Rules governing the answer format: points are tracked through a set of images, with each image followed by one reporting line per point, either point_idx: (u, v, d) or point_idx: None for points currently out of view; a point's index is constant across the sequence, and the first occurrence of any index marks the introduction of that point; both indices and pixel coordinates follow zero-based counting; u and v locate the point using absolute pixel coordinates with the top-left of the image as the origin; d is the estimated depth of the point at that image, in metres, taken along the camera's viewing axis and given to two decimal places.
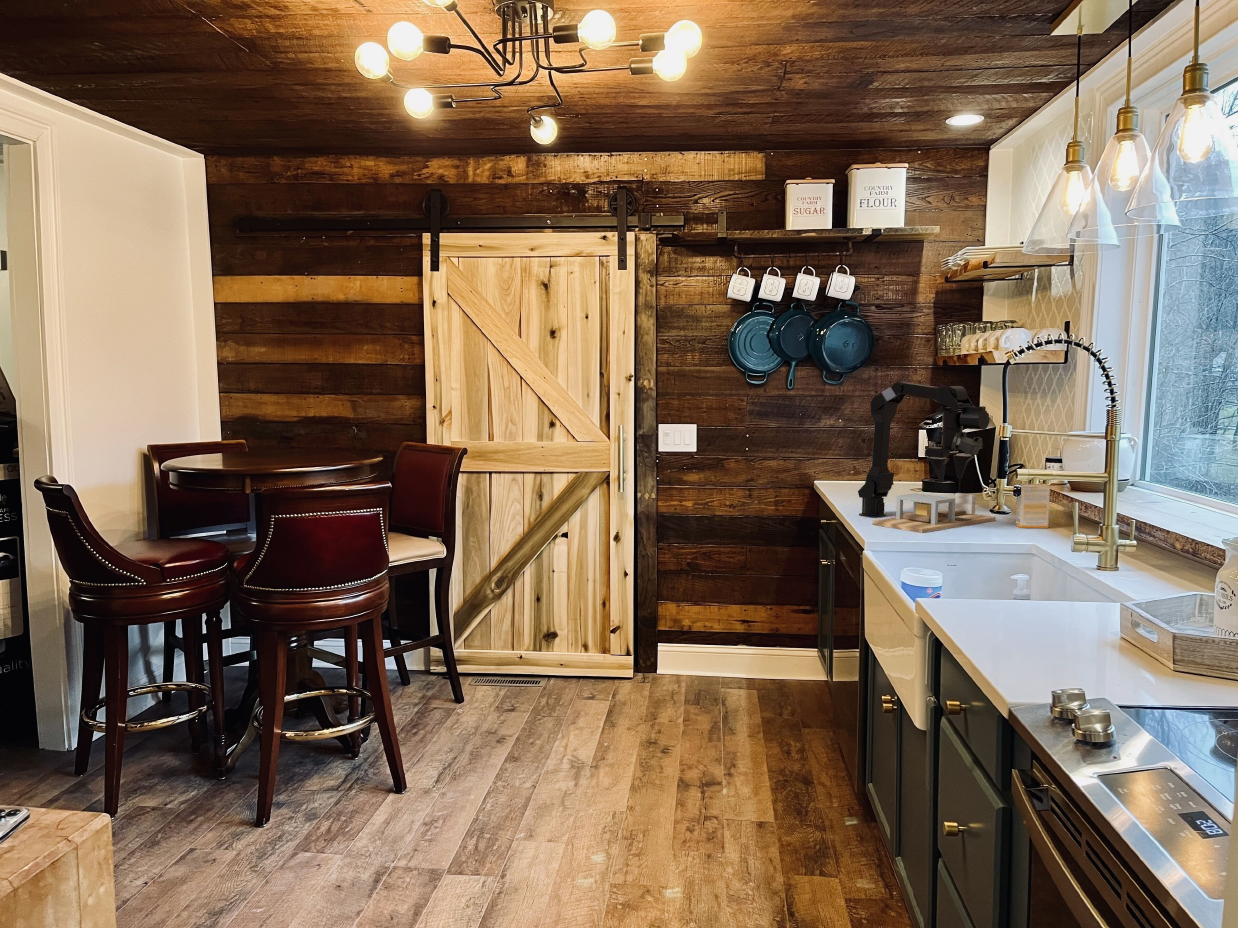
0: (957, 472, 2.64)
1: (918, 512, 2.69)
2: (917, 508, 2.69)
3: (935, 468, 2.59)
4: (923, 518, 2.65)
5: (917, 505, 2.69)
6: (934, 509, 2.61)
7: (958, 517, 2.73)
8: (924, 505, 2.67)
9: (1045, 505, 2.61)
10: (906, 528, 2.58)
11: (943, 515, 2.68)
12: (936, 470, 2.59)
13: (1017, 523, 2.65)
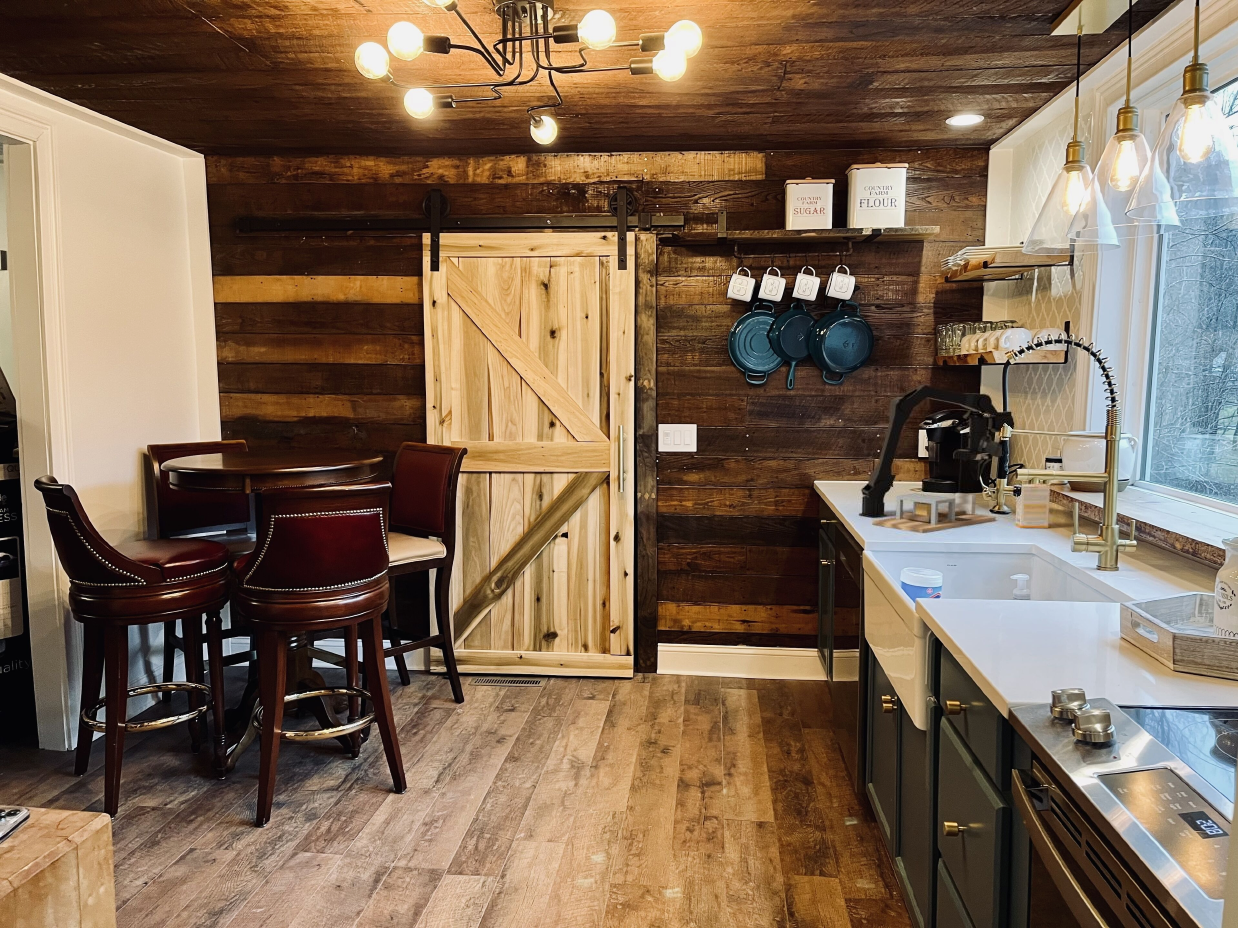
0: None
1: (918, 512, 2.69)
2: (917, 508, 2.69)
3: (970, 468, 2.84)
4: (923, 518, 2.65)
5: (917, 505, 2.69)
6: (934, 509, 2.61)
7: (958, 517, 2.73)
8: (924, 505, 2.67)
9: (1045, 505, 2.61)
10: (906, 528, 2.58)
11: (943, 515, 2.68)
12: (971, 470, 2.83)
13: (1017, 523, 2.65)
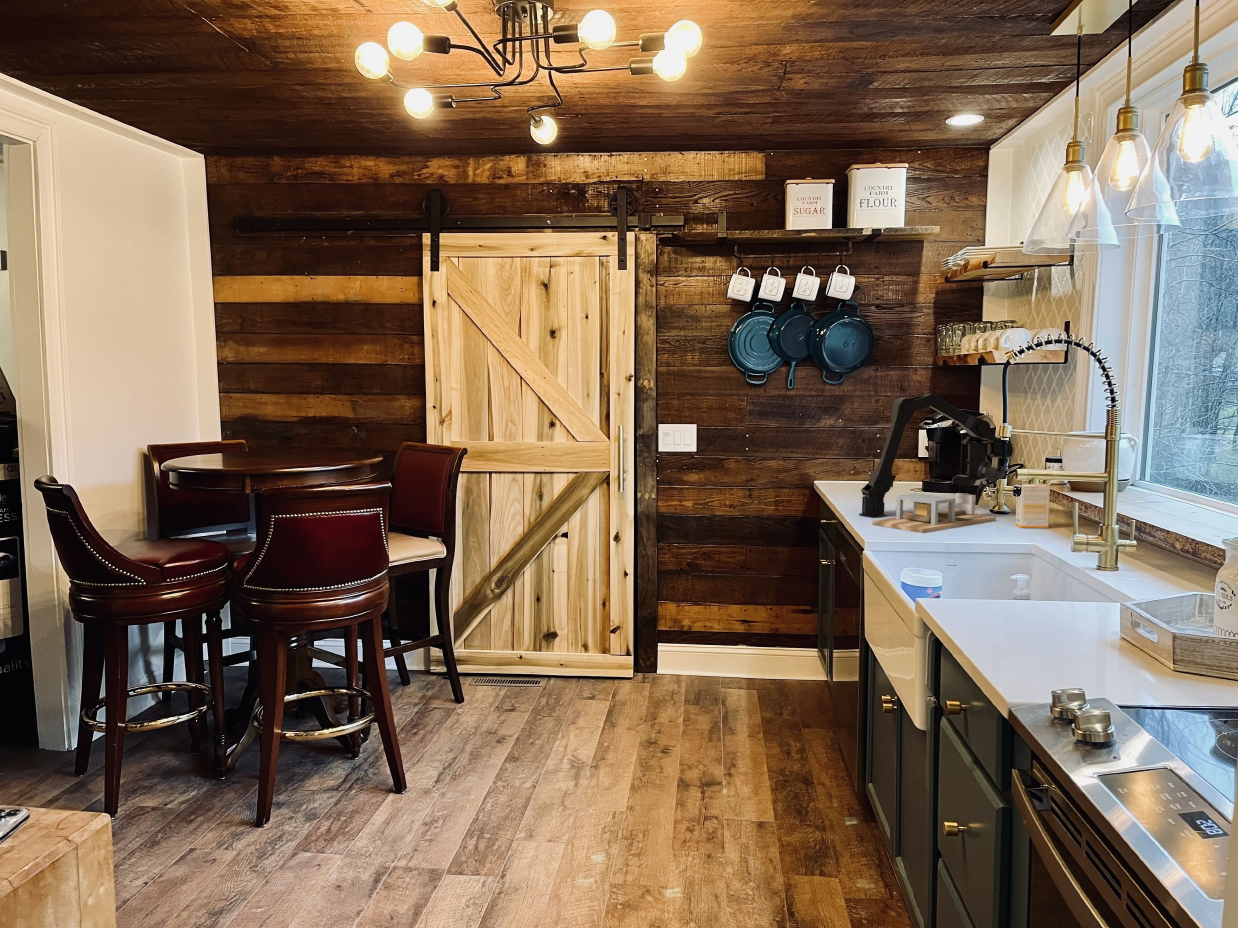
0: None
1: (918, 512, 2.69)
2: (917, 508, 2.69)
3: (969, 493, 2.84)
4: (923, 518, 2.65)
5: (917, 505, 2.69)
6: (934, 509, 2.61)
7: (958, 517, 2.73)
8: (924, 505, 2.67)
9: (1045, 505, 2.61)
10: (906, 528, 2.58)
11: (943, 515, 2.68)
12: None
13: (1017, 523, 2.65)
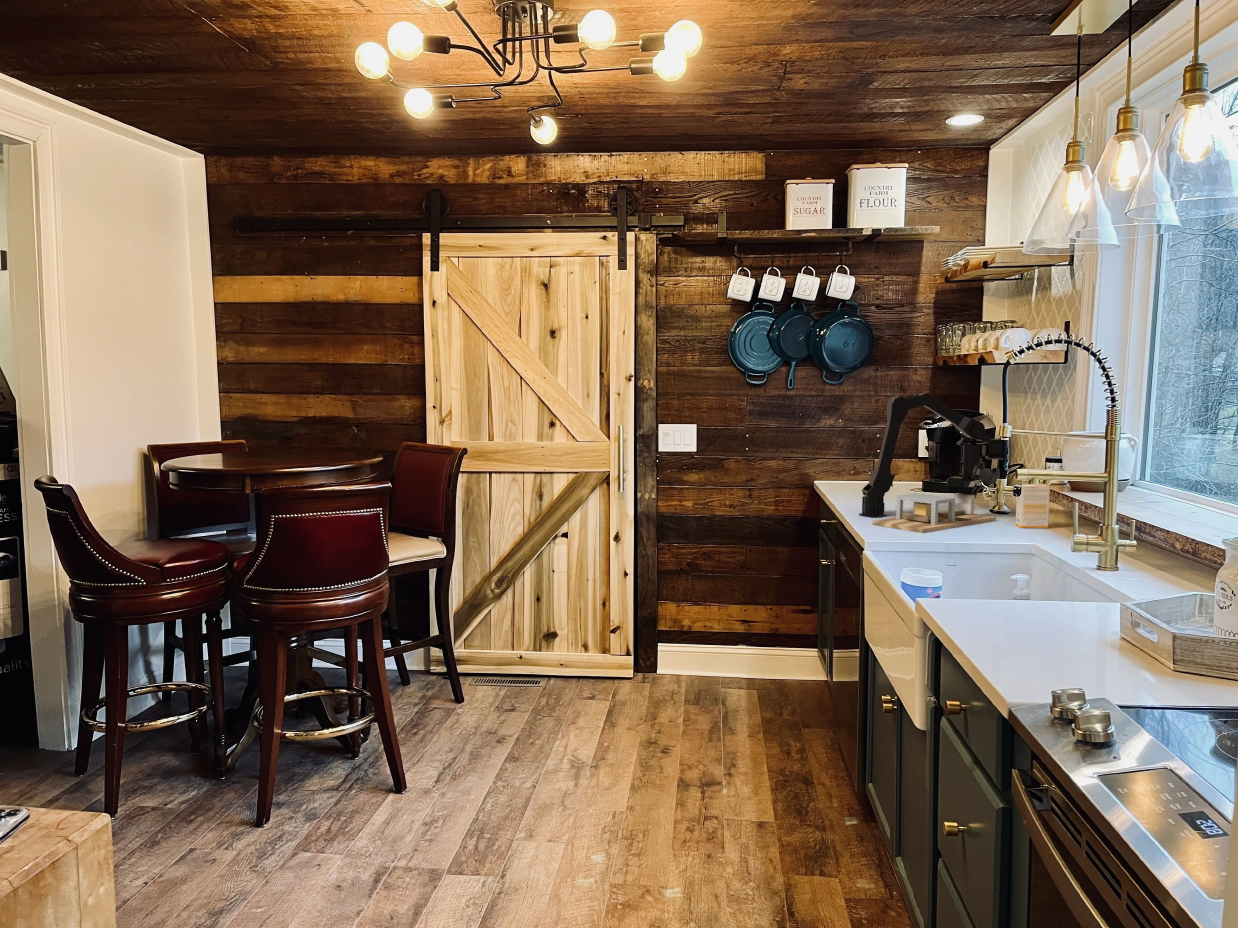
0: None
1: (917, 512, 2.69)
2: (916, 508, 2.69)
3: None
4: (922, 518, 2.64)
5: (916, 505, 2.69)
6: (934, 509, 2.61)
7: (958, 517, 2.73)
8: (923, 505, 2.67)
9: (1045, 505, 2.61)
10: (906, 528, 2.58)
11: (942, 515, 2.68)
12: None
13: (1017, 523, 2.65)
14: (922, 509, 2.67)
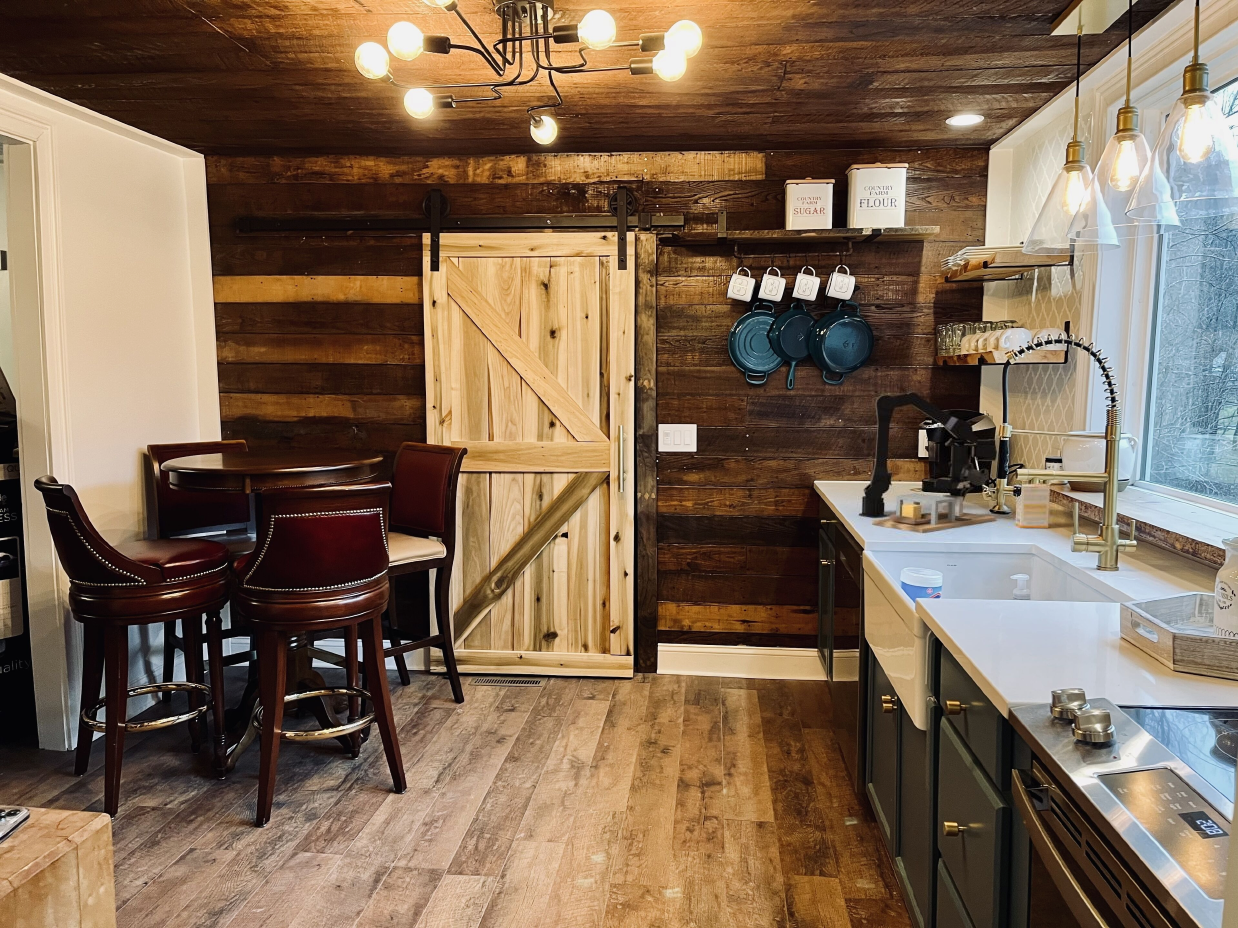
0: None
1: (904, 514, 2.65)
2: (903, 510, 2.65)
3: None
4: (909, 520, 2.61)
5: (903, 507, 2.65)
6: (934, 509, 2.61)
7: (958, 517, 2.73)
8: (910, 507, 2.63)
9: (1045, 505, 2.61)
10: (906, 528, 2.58)
11: (930, 517, 2.64)
12: None
13: (1017, 523, 2.65)
14: (909, 511, 2.63)
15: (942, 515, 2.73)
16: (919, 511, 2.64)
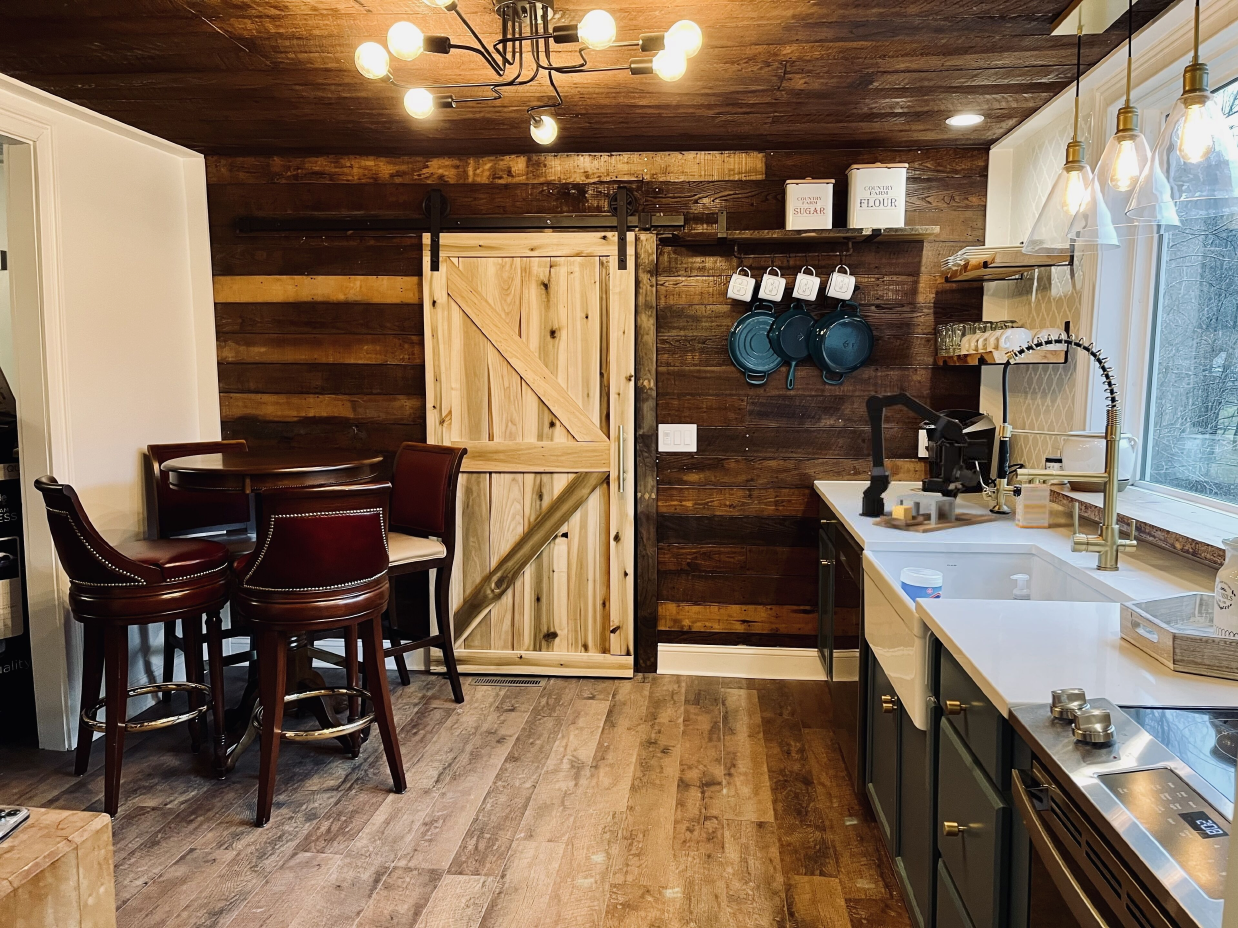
0: None
1: (895, 515, 2.62)
2: (894, 511, 2.62)
3: None
4: (899, 522, 2.58)
5: (894, 508, 2.62)
6: (934, 509, 2.61)
7: (958, 517, 2.73)
8: (901, 508, 2.60)
9: (1045, 505, 2.61)
10: (906, 528, 2.58)
11: (920, 518, 2.62)
12: None
13: (1017, 523, 2.65)
14: (900, 512, 2.61)
15: None
16: (910, 512, 2.62)
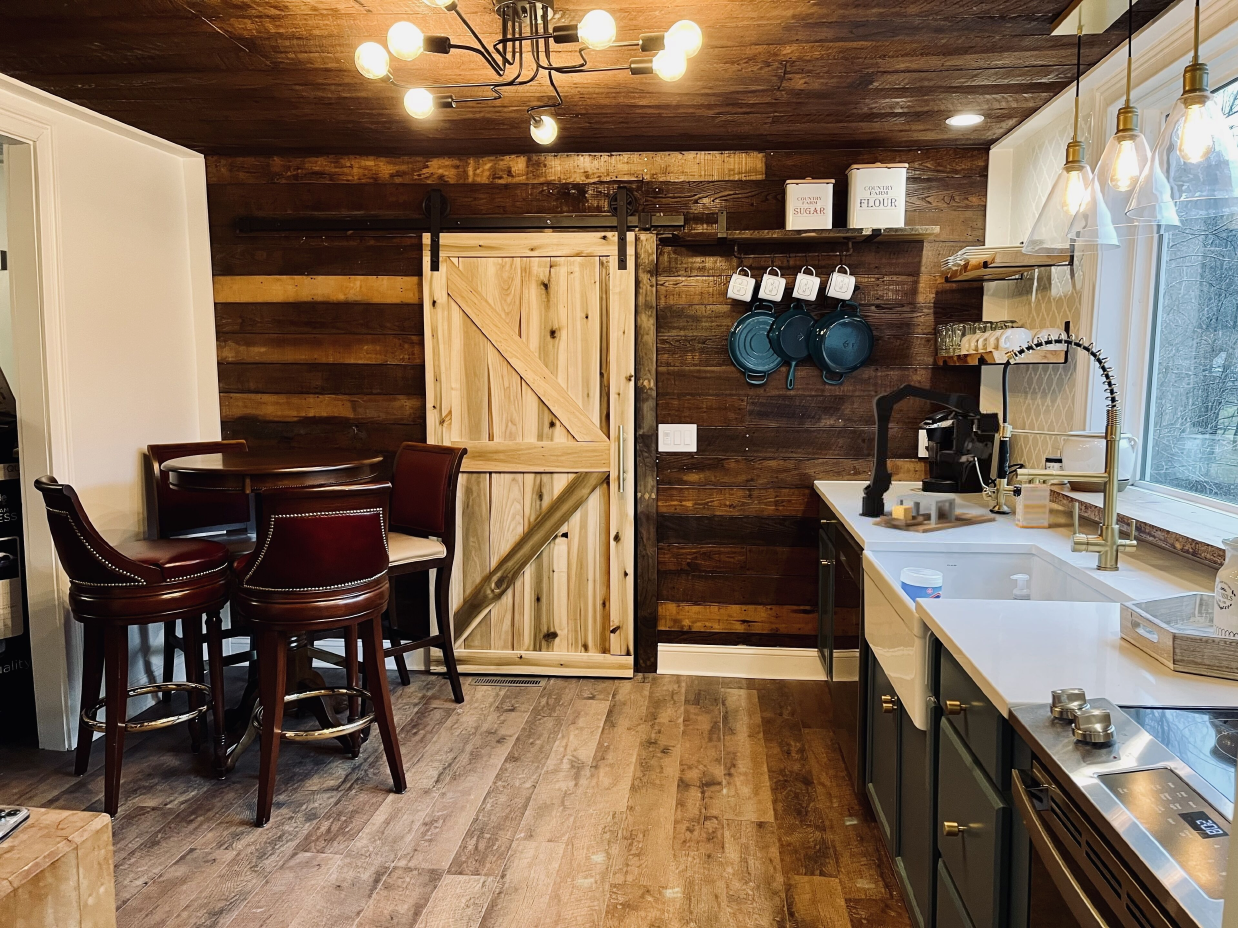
0: None
1: (895, 515, 2.62)
2: (894, 511, 2.62)
3: (956, 470, 2.80)
4: (899, 522, 2.58)
5: (894, 508, 2.62)
6: (934, 509, 2.61)
7: (958, 517, 2.73)
8: (901, 508, 2.60)
9: (1045, 505, 2.61)
10: (906, 528, 2.58)
11: (920, 518, 2.62)
12: (957, 472, 2.80)
13: (1017, 523, 2.65)
14: (900, 512, 2.61)
15: None
16: (910, 512, 2.61)
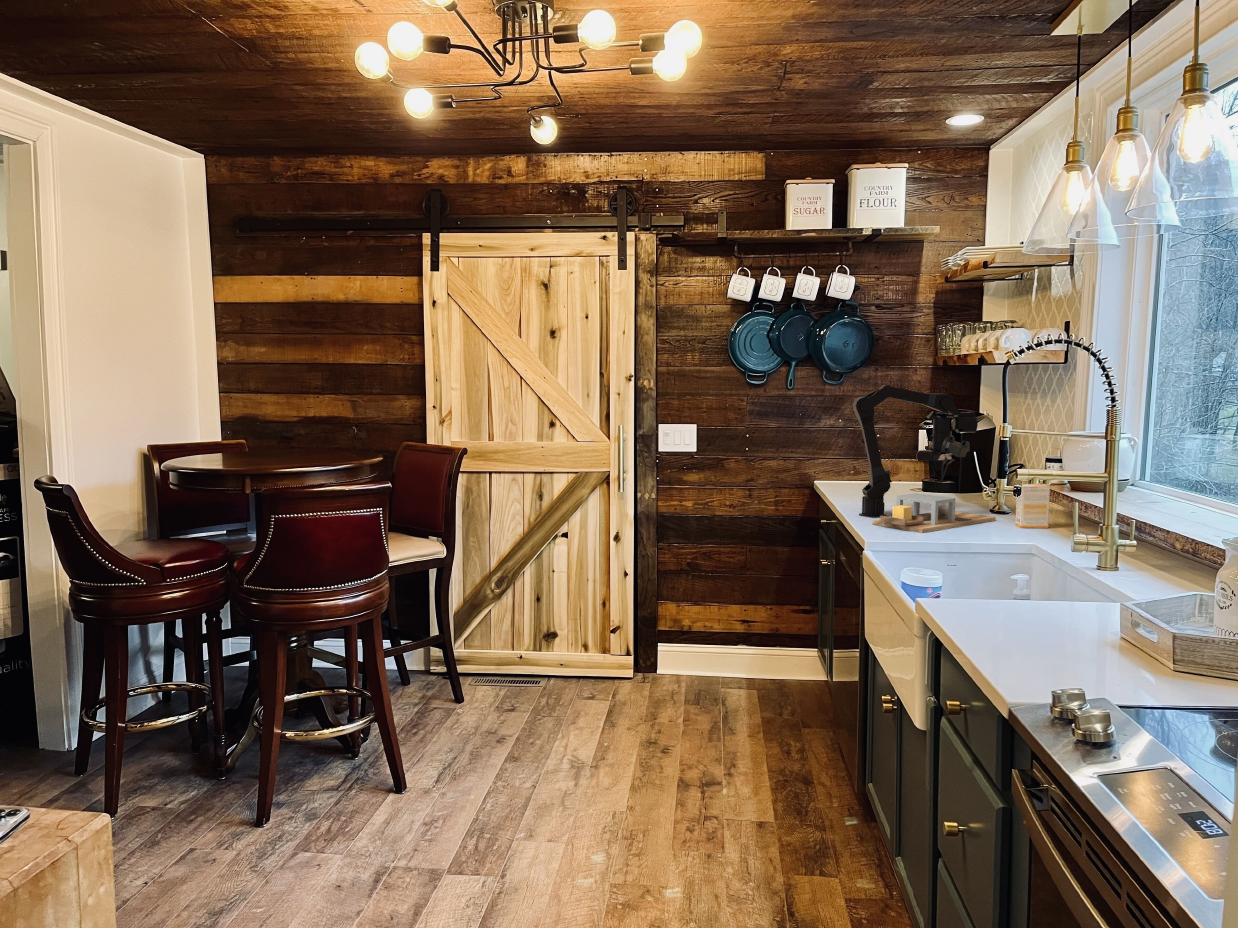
0: None
1: (895, 515, 2.62)
2: (894, 511, 2.62)
3: (934, 469, 2.82)
4: (899, 522, 2.58)
5: (894, 508, 2.62)
6: (934, 509, 2.61)
7: (958, 517, 2.73)
8: (901, 508, 2.60)
9: (1045, 505, 2.61)
10: (906, 528, 2.58)
11: (920, 518, 2.62)
12: (935, 470, 2.82)
13: (1017, 523, 2.65)
14: (900, 512, 2.61)
15: None
16: (910, 512, 2.61)
